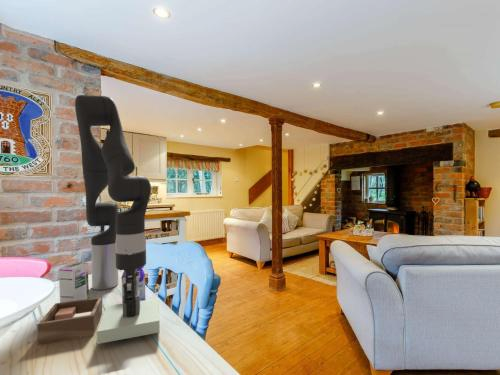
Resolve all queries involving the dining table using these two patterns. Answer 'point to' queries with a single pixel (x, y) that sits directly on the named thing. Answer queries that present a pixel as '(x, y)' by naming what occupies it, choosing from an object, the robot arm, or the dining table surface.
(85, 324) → the box
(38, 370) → the dining table surface
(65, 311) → the terracotta cube
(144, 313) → the lid
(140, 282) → the bottle
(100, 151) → the robot arm
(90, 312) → the cream cube
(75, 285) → the syrup box
